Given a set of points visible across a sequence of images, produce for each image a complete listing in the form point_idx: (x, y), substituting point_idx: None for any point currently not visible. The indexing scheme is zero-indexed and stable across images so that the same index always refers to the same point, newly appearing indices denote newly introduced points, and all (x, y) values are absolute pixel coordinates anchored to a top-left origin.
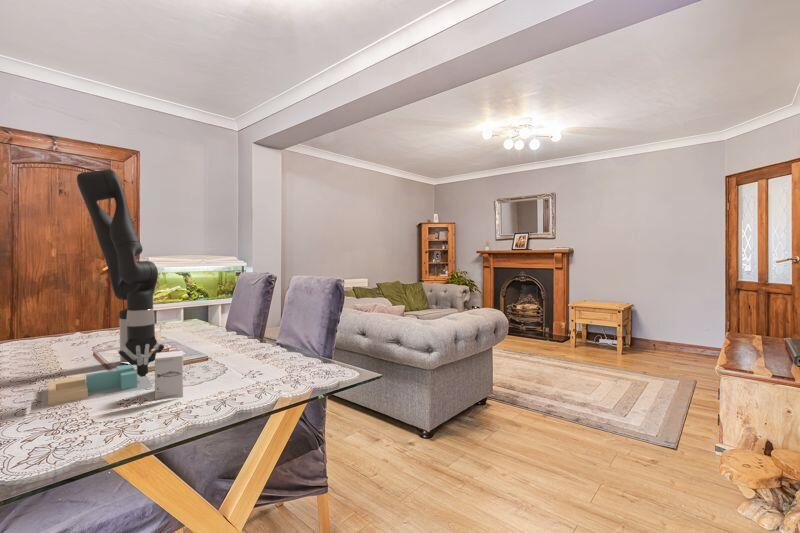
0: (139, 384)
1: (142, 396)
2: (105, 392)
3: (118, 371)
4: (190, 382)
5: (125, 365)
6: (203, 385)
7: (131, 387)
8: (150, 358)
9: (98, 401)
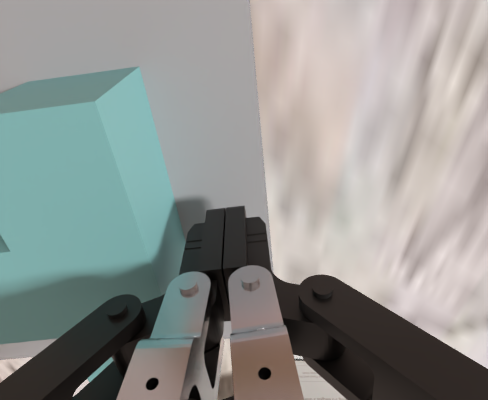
0: None
1: (228, 364)
2: None
3: (43, 313)
4: (463, 291)
5: (38, 131)
6: (483, 351)
7: None
8: (312, 358)
9: None
